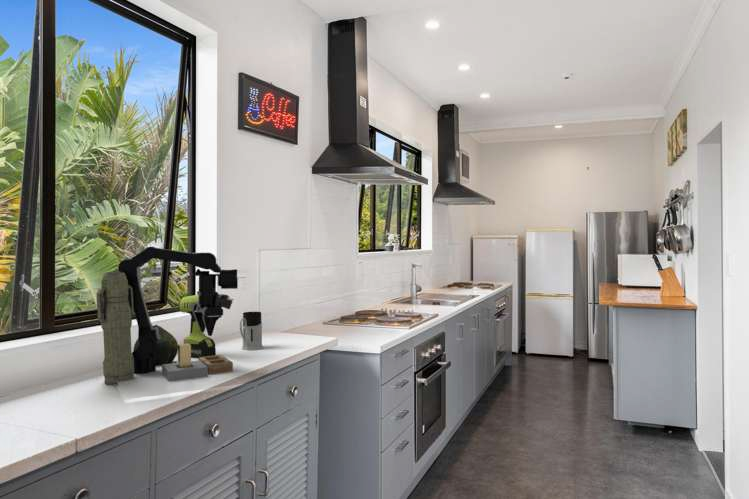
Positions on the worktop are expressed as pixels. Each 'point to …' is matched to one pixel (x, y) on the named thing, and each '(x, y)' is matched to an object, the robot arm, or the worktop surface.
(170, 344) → the squash
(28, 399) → the worktop surface
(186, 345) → the block
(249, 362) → the worktop surface
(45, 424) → the worktop surface
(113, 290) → the olive carved statue
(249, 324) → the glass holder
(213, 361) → the walnut rack
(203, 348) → the cordless drill
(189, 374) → the socket block
